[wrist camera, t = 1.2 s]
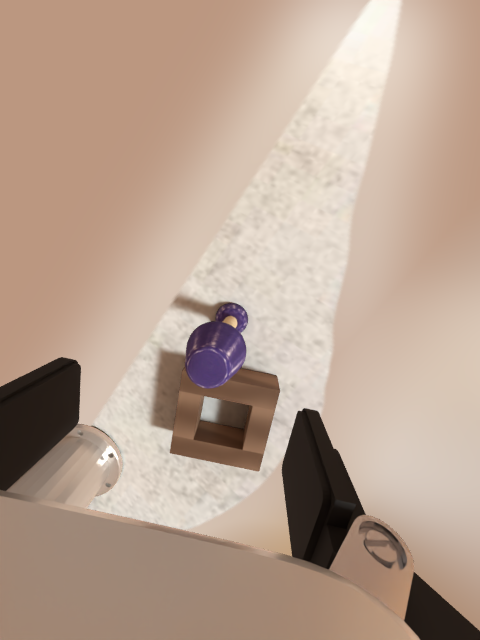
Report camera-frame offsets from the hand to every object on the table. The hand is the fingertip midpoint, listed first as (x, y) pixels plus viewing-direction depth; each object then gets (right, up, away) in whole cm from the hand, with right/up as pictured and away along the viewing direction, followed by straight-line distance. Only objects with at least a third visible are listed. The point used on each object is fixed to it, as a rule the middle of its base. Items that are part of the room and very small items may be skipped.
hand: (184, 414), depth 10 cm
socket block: (0, -8, +24) cm, 26 cm away
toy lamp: (+1, +4, +22) cm, 22 cm away
